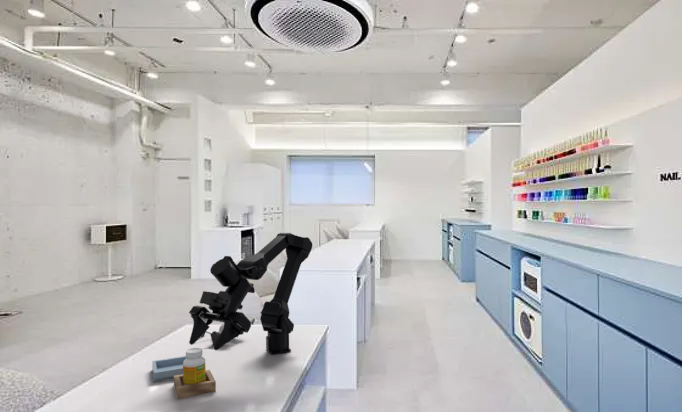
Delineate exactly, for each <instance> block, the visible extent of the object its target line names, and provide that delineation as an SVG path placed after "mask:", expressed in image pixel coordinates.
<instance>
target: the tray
mask: <svg viewBox="0 0 682 412" xmlns="http://www.w3.org/2000/svg"><path fill="white" fill-rule="evenodd" d="M186 358H187V357H186V355H182V356H178V357H177V356H176V357H171V358H166V359H165V358H164V359H158V360H152V377H153V383H159V382H160V383H161V382H164V381H165V382H166V381H170V380H174V376H175V375H181V374H183V361H184V360H185V359H186Z"/></svg>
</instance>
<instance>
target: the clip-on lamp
mask: <svg viewBox="0 0 682 412" xmlns="http://www.w3.org/2000/svg"><path fill="white" fill-rule="evenodd" d="M223 329H224V323H222V324H221V325H220V326H219V329H218V331H212V332H209V331H208V330H207V331H206V332H205V333H204V334H203V335H202V336H201V337H200V339H202V338H204V337H205V335H206V334H208V335H210V338H211V342H212V346H215V343H216V341H217V340H218V338H219V336H220V334H221V332H222V331H223ZM236 338H239V336H237V337H236Z"/></svg>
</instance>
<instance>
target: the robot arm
mask: <svg viewBox="0 0 682 412" xmlns="http://www.w3.org/2000/svg"><path fill="white" fill-rule="evenodd" d="M312 248H313V242H312V241H311V239H310V238H309V237H305V236H299V235H295V234H293V233H291V232H279V233H277V234H276V236H275V237H274V238H273V239H272V240H270V241H269V243H268V244H266V245H265V246H264V247H262V248H261V249H260V250H259V251H258V252H257V253H255V254H252V255H248V256H247V257H245V258H242V259H241V260H240V261H239V262H238V263H235V261H234V259H233V258H232V257H231V256H230V255H224V257H223V258H221V259H219V260H217V261H216V262H215V263H213V264H212V265H211V266H210V273H211V275H212V276H213V277H214V278H215V279H216V280H217V282H219V284H220V285H221V286H222V287H225V288H226V289H225V290H220V291H219V292H213V291H205V290H203V291H202V294H201V297H200V300H199V304H204V305H206V306H208V308H207V307H206V306H201V305H194V306H192V308H190V311H189V313H188V314H190V317H191V318H192V320H193V325H192V331H191V332H190V333H191V335H190V337H189V342H188V343H189V345H190V346H192V345H194V344H195V343H196V342H197V341H198V340H199V339H201V336H202V335H203V334H204V333H205V332H206V331H207V332H208V330H209V329H210V326H209V325H212V323H213V322H220V323H223V324H224V329H223V331H222V332H221V334H220V336H219V338H218V340H217V341H216V343H215V345H213V350H214V351H218V350H220V349H221V348H222V347H224V346H225V345H227V344H228V343H230V342H231V341H232V340H234V339H236V338H237V336H238V337H239V336H240V335H244V333H245V334H246V333H247V334H248V333H249V331H250V329H251V327H252V321H251V320H250V319H249V318H248V317H247V316H246V315H245V314H244V312H240V311H238V310H242V309H243V307H244V305H243V304H242V303H243V301H244V299H246V296H247V294H248V293H250V294H254V293H255V292H256V291H255V290H256V289H255V287H254V283H252V282H249V280H253V281H259V280H260V279H262V278H263V277H264V275H265V274H266V272H267V271H268V266H269V265H270V264H271V262H272V261H274V259H276V258H277V257H278V256H279V255H280V254H281V253H282V252H283V251H284V250H285V253H286V261H285V265H284V267H283V270H282V273H281V276H280V279H279V281H278V283H277V286H276V290H275V291H274V295H273V298H272V299H271V300H270V301H267V300H266V301H265V302H264V304H263V307H262V310H261V311H260V317H259V318H260V319H259V320H260V323H261V326H262V330H263V332H267V335H266V336H265V343H266V344H265V349H266V351H267V352H268V353H270V355H277V354H283V353H284V354H285V353H289V352H292V349H291V348H290V334H291V333H292V332H293V331H294V327H295V324H294V322H293V321H291V319H290V318H289V317H290V308H289V304H288V303H289V300H290V298H291V294H292V292H293V288H294V285H295V283H296V281H297V278H298V277H297V276H298V274H299V271H300V268H301V266H302V263H303V262H304V261H306V260H307V259H308V258H309V256H310V254H311V251H312ZM205 334H206V333H205Z"/></svg>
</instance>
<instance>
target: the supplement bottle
mask: <svg viewBox="0 0 682 412" xmlns="http://www.w3.org/2000/svg"><path fill="white" fill-rule="evenodd" d="M185 356H186V357H187V358H186V359H185V360H184V361H183V386H184V385H189V384H195V383H200V382H206V378H205V370H206V358H205V357H203V348H200V347H191V348H188V349H186V350H185Z"/></svg>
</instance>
